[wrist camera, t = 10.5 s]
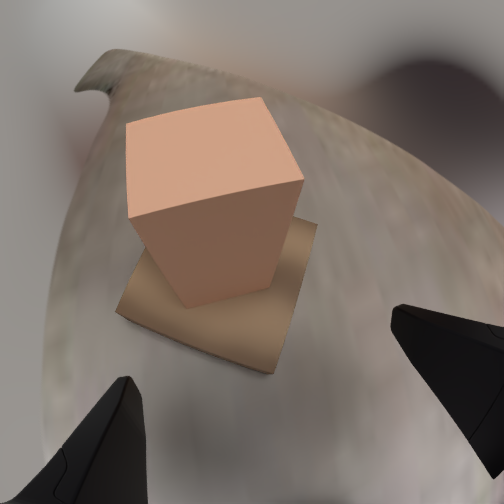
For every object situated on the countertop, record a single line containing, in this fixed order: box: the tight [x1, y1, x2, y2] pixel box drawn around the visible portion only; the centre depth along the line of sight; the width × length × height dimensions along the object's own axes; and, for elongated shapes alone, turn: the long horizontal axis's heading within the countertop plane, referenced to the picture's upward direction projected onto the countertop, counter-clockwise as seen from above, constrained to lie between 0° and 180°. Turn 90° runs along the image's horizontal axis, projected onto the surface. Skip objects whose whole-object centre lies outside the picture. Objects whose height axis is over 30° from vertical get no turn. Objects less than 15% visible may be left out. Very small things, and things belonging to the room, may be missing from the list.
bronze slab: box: [115, 216, 318, 374], centre depth 22 cm, size 12×12×3 cm
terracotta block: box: [126, 97, 304, 309], centre depth 16 cm, size 5×6×12 cm
